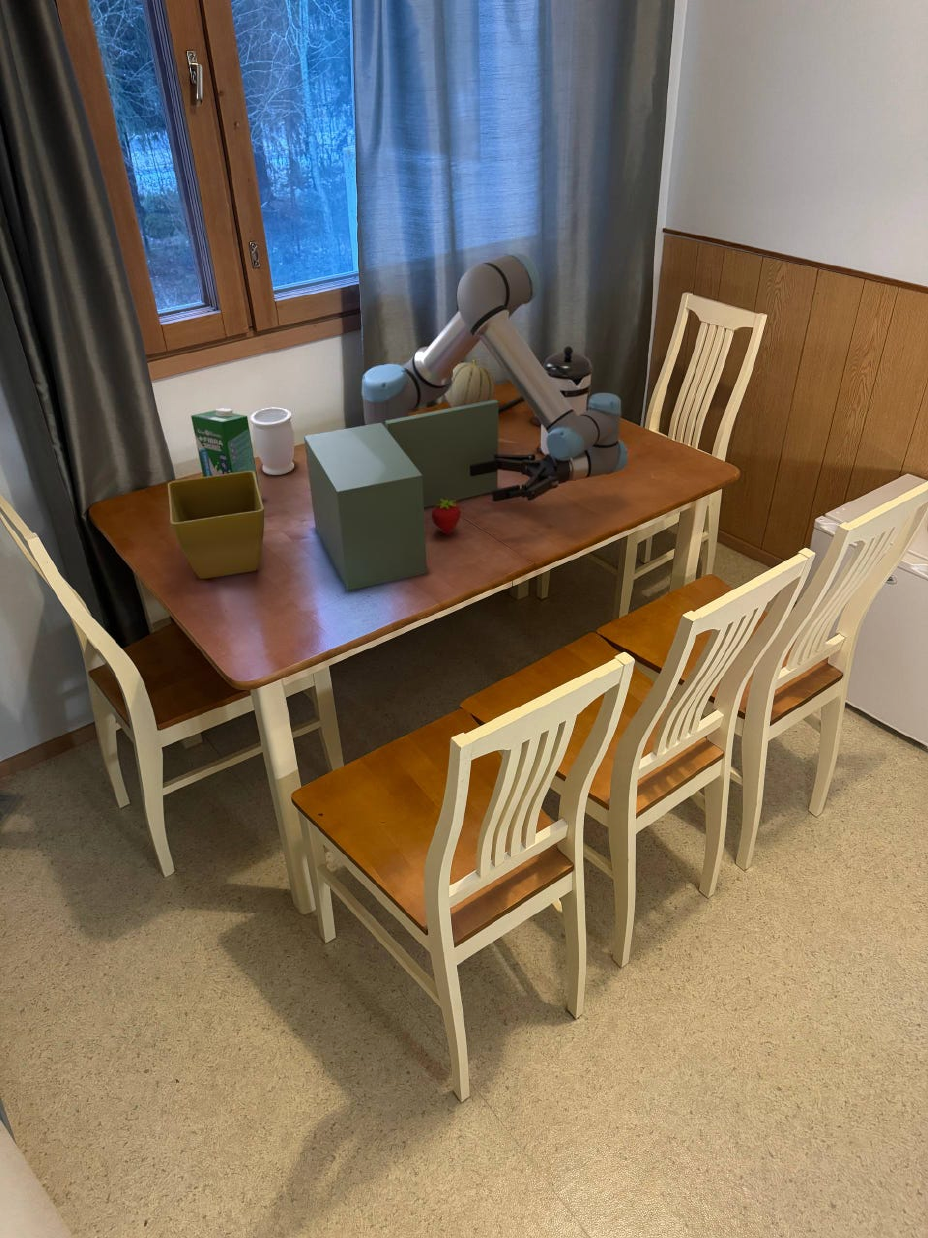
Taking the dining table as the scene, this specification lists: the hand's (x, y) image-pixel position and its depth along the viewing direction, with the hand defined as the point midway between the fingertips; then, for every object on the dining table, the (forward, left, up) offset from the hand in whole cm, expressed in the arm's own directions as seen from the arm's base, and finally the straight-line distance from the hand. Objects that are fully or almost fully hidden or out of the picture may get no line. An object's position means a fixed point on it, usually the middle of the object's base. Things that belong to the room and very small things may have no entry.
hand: (481, 483), depth 213 cm
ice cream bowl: (-60, -12, -12) cm, 63 cm away
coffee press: (-43, +1, -12) cm, 45 cm away
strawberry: (+7, -6, -12) cm, 15 cm away
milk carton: (+19, -59, -12) cm, 63 cm away
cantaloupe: (-57, -34, -12) cm, 68 cm away
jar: (-2, -62, -12) cm, 63 cm away
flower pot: (+40, -44, -12) cm, 60 cm away
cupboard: (+21, -18, -11) cm, 30 cm away
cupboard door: (-8, -16, -11) cm, 21 cm away
